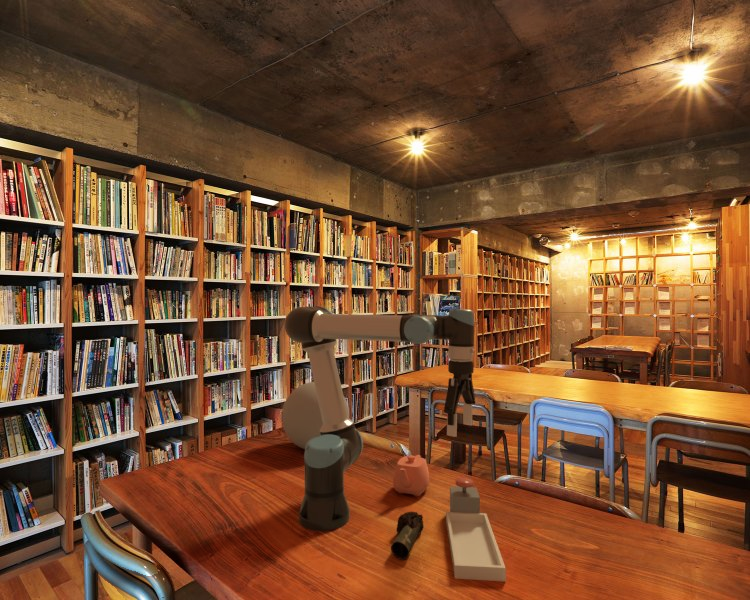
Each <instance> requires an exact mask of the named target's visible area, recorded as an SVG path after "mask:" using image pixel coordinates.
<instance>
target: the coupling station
mask: <svg viewBox="0 0 750 600" xmlns="http://www.w3.org/2000/svg"><path fill="white" fill-rule="evenodd" d="M455 485H456V486H449V500H450V501H449V511H446V512H445V523H446V531H447V537H448V541H449V542H448V543H449V550H450V555H451V562H452V568H453V575H454V579H458V580H459V579H462V580H472V581H473V580H477V581H490V582H492V581H493V582H506V581H507V579H506V576H507V575H506V574H507V571H506V570H507V569H506V566H505V562H504V559H503V556H502V554H501V551H500V548H499V545H498V543H497V542H498V541H496V537H495V535H494V532H493V529H492V526H491V523H490V520H489V517H488V514H487V513H483V512H481V497H480V494H479V491H478V488H477V487H476V486H475V487H474V481H473V479H471V478H469V477H458V478H456V479H455Z"/></svg>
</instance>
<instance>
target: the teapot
mask: <svg viewBox="0 0 750 600" xmlns="http://www.w3.org/2000/svg"><path fill="white" fill-rule="evenodd" d="M429 484H430V473H429V467H428V464H427V460H426V459H425V458H423V457H422V456H421V455H420V454H416V455H405V456H403V457H401V458H400V459H399V460H398V461H397V464H396V466H395V468H394V473H393V478H392V485H393V486H392V487H393V488H394V490H395V491H396V492H397V493H398V494H408V495H413V496H414V497H420V496H421V495H422V494H423V493H424V492H425V491H426V490H427V488H428V486H429Z"/></svg>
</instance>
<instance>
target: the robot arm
mask: <svg viewBox="0 0 750 600" xmlns="http://www.w3.org/2000/svg"><path fill="white" fill-rule="evenodd" d="M284 330H285V333H286V335H287V337H289V338H290V339H291V340H292V341H293V342H295V343H299V344H301V348H302V351H304V352H305V353H307V355H308V359H309V360H308V361H309V364H310V369H311V374H312V378H313V382H314V384H315V388H316V393H317V398H318V402H319V407H320V412H321V417H322V421H323V425H322V427H321V429H320V436H319V437H317V436H316V437H314V438H312V439H310V440H309V441H308V442H307V444H306V446H305V449H304V454H303V458H304V459H303V460H304V495H303V498H302V502H301V505H300V508H299V510H298V522H299V523H298V524H300V526H301V527H303V528H304V529H307V530H309V531H314V532H328V531H329V532H330V531H334V530H337V529H340V528H343V527H344V526H346V524H347V523H348V522H349V520H350V518H351V515H350V507H349V504H348V500H347V497H346V495H345V489H344V488H345V486H344V482H345V481H344V474H345V471H346V470H348V468H349V467H351V466H352V464H354V463H356V461H357V460H358V459H359V457H360V456H361V454H362V452H363V448H364V440H363V437H362V433H360V431H359V430H357V428H356V426H355V422H354V420H352V419H351V418H350V417H349V418H348V415H347V410H346V405H345V401H344V397H345V395H344V392H343V387H342V383H341V378H340V375H339V369H338V365H337V360H336V356H335V351H334V348H335V345H336V344H337V340H351V341H377V342H379V341H380V342H404V343H413V344H417V345H419V344H425V343H427V342H429V341H430V340H443V341H444V340H445V341H446V340H447V341H448V355H447V357H448V359H449V360H448V361H447V362H448V364H447V365H448V366H447V369H448V370H447V371H448V372H449V373H450V374H452V375H453V376H452V378H451V377H450V378H448V384H447V385H448V387H447V391H446V396H445V402H444V408H443V413H445V414H446V436H449V437H453V438H455V437H456V438H457V437H458V436H457V434H458V433H457V429H458V423H457V422H458V414H457V413H456V412H457V409H458V406H459V400H460V397H461V395H462V398H463V402H464V403H463V406H462V407H463V408H462V410H463V411H462V413H463V414H462V425H467V426H473V405H475V404H476V396H475V389H474V384H473V373H474V368H475V367H474V361H473V360H474V354H475V353H476V350H475V348H474V346H475V344H474V343H475V313H474V310H472V309H466V308H465V309H462V308H461V309H460V308H459V309H458V308H454V309H453V308H451V309H449V312H448V314H446V315H438V314H436V315H435V314H413V315H400V314H399V315H393V314H353V313H352V314H351V313H348V314H347V313H345V314H343V313H340V314H339V313H334V312H332V310H330V309H328V308H326V307H323V306H318V305H317V306H299V307H296V308H294V309H292V310H291V311H289V313H288V314H287V316H286V317H285V320H284Z"/></svg>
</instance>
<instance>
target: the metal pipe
mask: <svg viewBox="0 0 750 600" xmlns="http://www.w3.org/2000/svg"><path fill="white" fill-rule="evenodd" d="M423 518H424V517H423V514H422V513H421V514H420V513H418V512H417V511H407V512H404V513H403V514H401V515H400V516H399V517H398V519H397V525H396V533H397V536H396V537H395V540H394V541H393V542H392V544H391V546H390V550H391V553H392V555H393V556H394V557H395V558H397V559H399V560H403V561H404V560H407V559H408V557H409V556H410V553H411V552H412V549H413V546H414V544H415V541H416V540H417V536H418V535H419V534H420V533H422V532H423V530H424V520H423Z"/></svg>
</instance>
